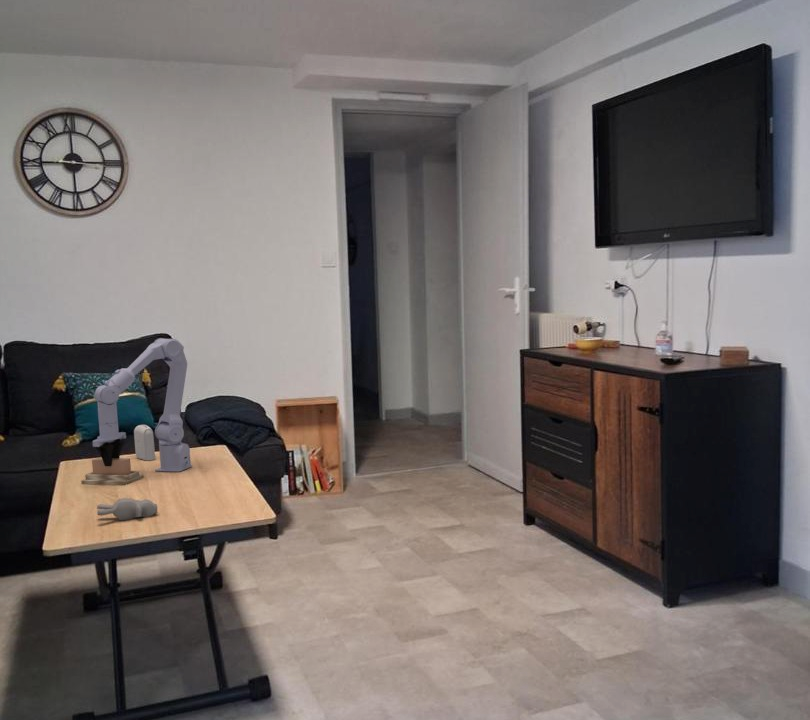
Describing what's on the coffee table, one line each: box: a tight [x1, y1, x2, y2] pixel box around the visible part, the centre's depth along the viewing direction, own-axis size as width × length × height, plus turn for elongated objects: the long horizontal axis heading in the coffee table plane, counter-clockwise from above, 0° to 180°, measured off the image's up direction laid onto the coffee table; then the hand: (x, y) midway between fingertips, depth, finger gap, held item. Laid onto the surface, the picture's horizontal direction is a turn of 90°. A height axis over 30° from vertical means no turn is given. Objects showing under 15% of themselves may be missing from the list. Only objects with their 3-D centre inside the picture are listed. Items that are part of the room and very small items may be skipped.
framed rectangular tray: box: [80, 470, 144, 486], centre depth 261 cm, size 16×10×2 cm, turn 75°
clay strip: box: [91, 457, 132, 475], centre depth 261 cm, size 12×3×5 cm, turn 75°
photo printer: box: [133, 424, 156, 461], centre depth 294 cm, size 10×4×12 cm, turn 39°
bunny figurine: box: [96, 497, 158, 521], centre depth 216 cm, size 10×5×15 cm
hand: (111, 464), depth 261 cm, fingers closed on clay strip, 3 cm apart
